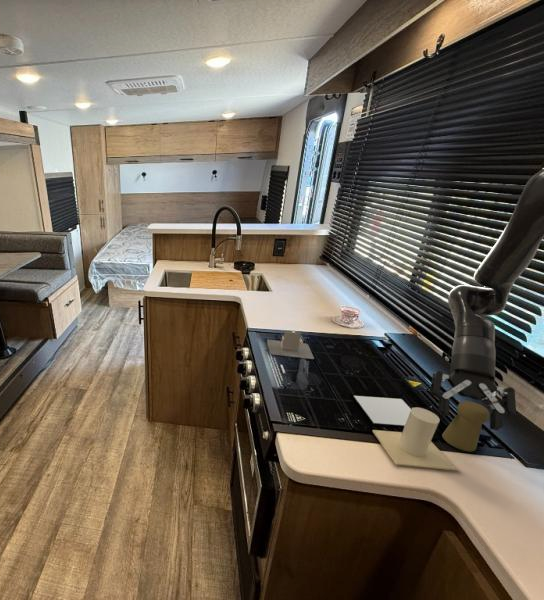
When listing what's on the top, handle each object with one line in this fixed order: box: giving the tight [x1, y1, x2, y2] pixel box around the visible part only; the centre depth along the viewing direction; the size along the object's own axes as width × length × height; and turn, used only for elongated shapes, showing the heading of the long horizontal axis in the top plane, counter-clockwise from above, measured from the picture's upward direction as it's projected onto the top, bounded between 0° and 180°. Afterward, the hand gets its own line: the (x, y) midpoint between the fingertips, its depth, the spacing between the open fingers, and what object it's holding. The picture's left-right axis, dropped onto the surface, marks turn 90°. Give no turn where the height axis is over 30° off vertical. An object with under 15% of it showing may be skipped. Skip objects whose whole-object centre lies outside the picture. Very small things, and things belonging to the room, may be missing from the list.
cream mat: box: [372, 429, 457, 471], centre depth 73 cm, size 12×10×1 cm
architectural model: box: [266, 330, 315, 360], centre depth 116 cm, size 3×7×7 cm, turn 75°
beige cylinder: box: [398, 407, 441, 457], centre depth 71 cm, size 5×5×10 cm
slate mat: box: [352, 395, 412, 428], centre depth 85 cm, size 13×11×1 cm
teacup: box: [331, 305, 365, 329], centre depth 135 cm, size 12×12×6 cm
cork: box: [441, 400, 490, 453], centre depth 73 cm, size 6×6×11 cm
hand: (469, 422), depth 72 cm, fingers open, 8 cm apart
